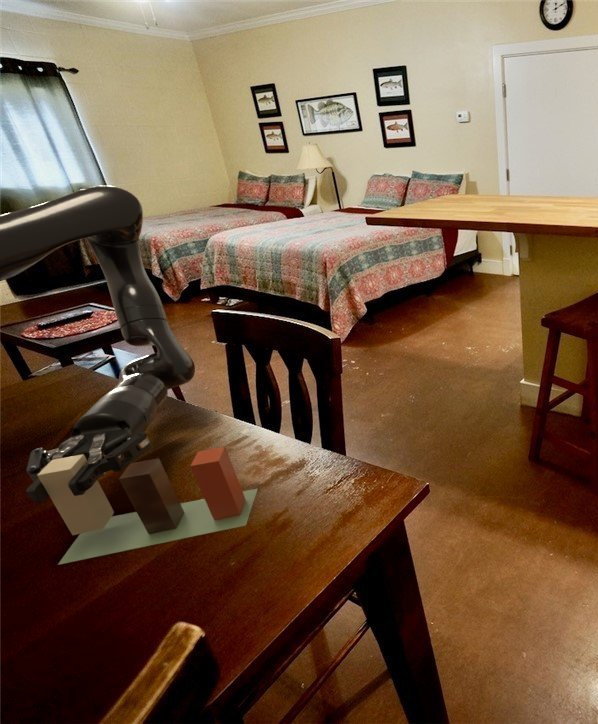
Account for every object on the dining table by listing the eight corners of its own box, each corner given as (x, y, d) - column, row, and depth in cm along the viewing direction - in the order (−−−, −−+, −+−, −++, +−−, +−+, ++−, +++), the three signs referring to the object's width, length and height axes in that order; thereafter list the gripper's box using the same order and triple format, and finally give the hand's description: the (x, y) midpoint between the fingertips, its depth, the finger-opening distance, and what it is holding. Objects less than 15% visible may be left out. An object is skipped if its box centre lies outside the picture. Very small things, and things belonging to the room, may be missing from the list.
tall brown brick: (148, 534, 66) (118, 478, 61) (157, 517, 69) (130, 462, 64) (176, 528, 67) (149, 473, 62) (184, 512, 70) (159, 458, 65)
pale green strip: (60, 570, 62) (57, 564, 61) (92, 525, 69) (89, 520, 68) (247, 530, 68) (245, 525, 67) (259, 493, 75) (258, 488, 74)
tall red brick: (213, 520, 68) (189, 465, 64) (220, 504, 71) (198, 451, 66) (240, 515, 69) (218, 460, 64) (245, 499, 72) (225, 446, 67)
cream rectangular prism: (72, 535, 63) (36, 475, 59) (85, 518, 66) (52, 459, 62) (103, 528, 64) (70, 468, 60) (114, 512, 67) (83, 454, 62)
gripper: (51, 407, 70) (-35, 483, 55) (162, 391, 74) (109, 458, 59) (74, 447, 73) (-1, 529, 59) (180, 431, 77) (134, 503, 62)
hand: (55, 493), depth 59 cm, fingers closed on cream rectangular prism, 3 cm apart
